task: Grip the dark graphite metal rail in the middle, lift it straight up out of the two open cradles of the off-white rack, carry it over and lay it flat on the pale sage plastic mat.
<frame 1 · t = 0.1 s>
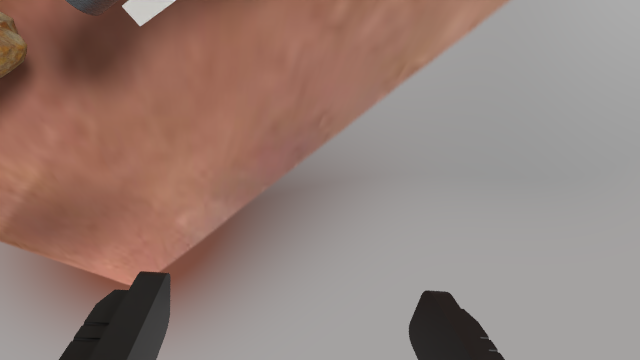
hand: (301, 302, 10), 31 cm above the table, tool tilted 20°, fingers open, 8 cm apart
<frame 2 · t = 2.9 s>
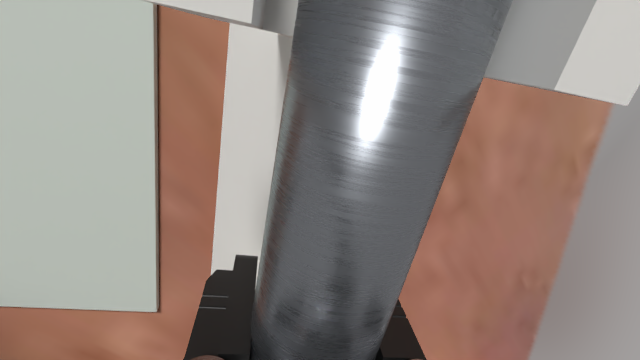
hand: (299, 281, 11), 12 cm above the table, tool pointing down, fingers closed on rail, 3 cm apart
rack: (283, 158, 21), on the table
mat: (49, 126, 19), on the table
rail: (295, 307, 10), point 13 cm above the table, tilted 9°, touching gripper, rack
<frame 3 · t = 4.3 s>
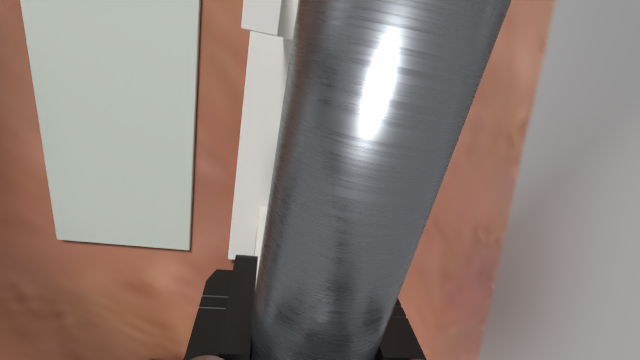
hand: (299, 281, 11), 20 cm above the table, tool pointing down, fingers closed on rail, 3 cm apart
rack: (286, 129, 29), on the table
mat: (121, 103, 26), on the table
rail: (294, 306, 10), point 21 cm above the table, tilted 9°, touching gripper
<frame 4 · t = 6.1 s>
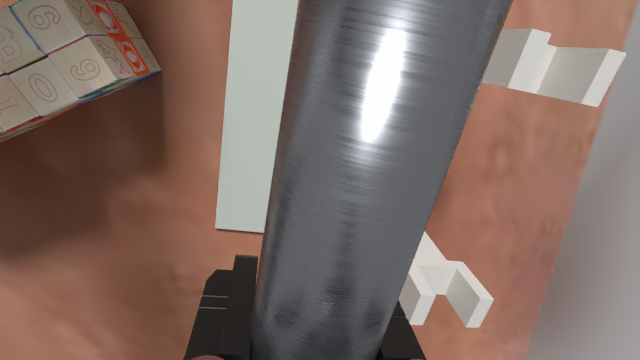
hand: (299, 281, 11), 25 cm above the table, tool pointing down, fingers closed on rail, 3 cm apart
rack: (406, 138, 36), on the table
mat: (284, 118, 33), on the table
rail: (294, 308, 10), point 26 cm above the table, tilted 9°, touching gripper
stack of blocks: (42, 83, 29), on the table
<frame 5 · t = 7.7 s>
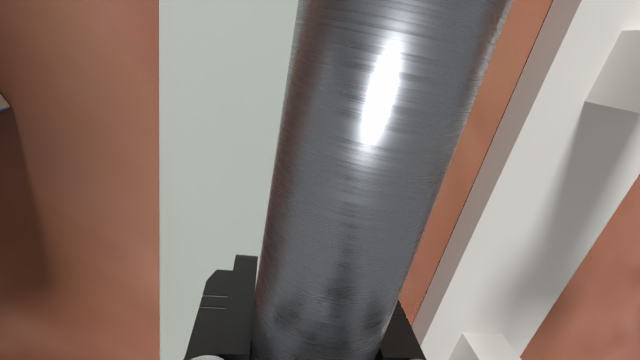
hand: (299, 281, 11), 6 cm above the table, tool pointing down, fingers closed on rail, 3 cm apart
rack: (517, 224, 19), on the table
mat: (288, 197, 16), on the table
rail: (294, 309, 10), point 7 cm above the table, tilted 9°, touching gripper
when the fingers open (1 cm above the table, at t = 9.0 s): rail drops 2 cm, resting on mat.
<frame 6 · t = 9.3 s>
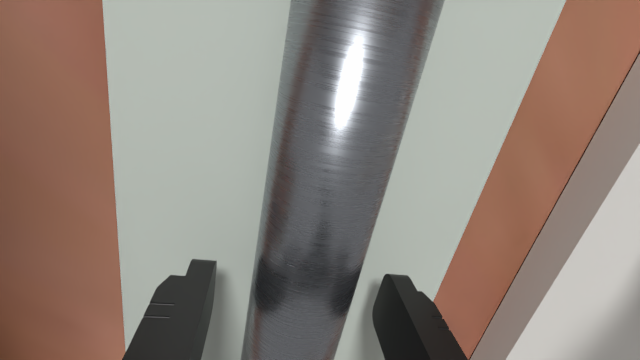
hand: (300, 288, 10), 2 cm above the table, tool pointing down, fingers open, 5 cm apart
rack: (590, 278, 15), on the table
mat: (296, 255, 12), on the table
rail: (291, 264, 11), point 1 cm above the table, tilted 8°, touching mat
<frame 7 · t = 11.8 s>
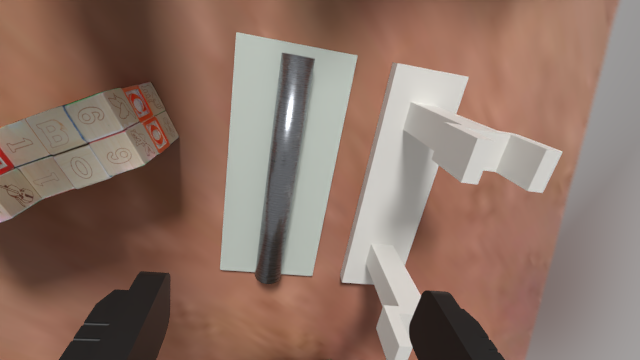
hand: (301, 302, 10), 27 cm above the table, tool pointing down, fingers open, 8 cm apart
rack: (393, 186, 39), on the table
mat: (280, 173, 36), on the table
rail: (278, 174, 36), point 1 cm above the table, tilted 10°, touching mat
stack of blocks: (71, 140, 33), on the table
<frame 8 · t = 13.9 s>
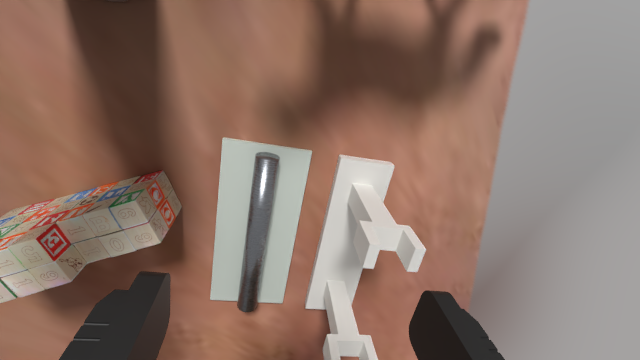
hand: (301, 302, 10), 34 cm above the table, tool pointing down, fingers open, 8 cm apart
rack: (344, 238, 51), on the table
mat: (256, 230, 48), on the table
rail: (254, 232, 48), point 1 cm above the table, tilted 11°, touching mat
stack of blocks: (100, 207, 44), on the table
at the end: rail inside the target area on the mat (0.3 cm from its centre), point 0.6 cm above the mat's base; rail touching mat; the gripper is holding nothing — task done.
